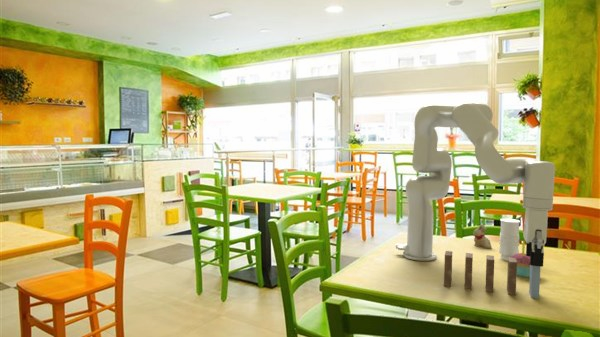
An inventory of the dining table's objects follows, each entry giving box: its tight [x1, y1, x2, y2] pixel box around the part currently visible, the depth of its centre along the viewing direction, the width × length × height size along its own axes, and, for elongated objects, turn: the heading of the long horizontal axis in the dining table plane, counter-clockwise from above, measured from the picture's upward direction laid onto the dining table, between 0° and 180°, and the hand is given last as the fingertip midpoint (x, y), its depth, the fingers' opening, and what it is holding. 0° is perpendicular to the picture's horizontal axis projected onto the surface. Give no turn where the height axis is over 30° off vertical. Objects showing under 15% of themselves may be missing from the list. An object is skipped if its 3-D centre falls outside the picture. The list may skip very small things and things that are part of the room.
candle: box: [498, 218, 521, 262], centre depth 158 cm, size 7×7×15 cm
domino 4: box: [506, 257, 518, 297], centre depth 123 cm, size 2×5×10 cm, turn 157°
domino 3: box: [485, 254, 495, 294], centre depth 125 cm, size 2×5×10 cm, turn 157°
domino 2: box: [464, 252, 474, 291], centre depth 128 cm, size 2×5×10 cm, turn 157°
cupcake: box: [511, 240, 530, 278], centre depth 139 cm, size 9×8×12 cm
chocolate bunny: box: [472, 223, 492, 250], centre depth 176 cm, size 6×8×10 cm
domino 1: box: [443, 250, 453, 288], centre depth 130 cm, size 2×5×10 cm, turn 157°
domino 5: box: [528, 265, 541, 300], centre depth 121 cm, size 2×5×10 cm, turn 156°
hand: (534, 261), depth 121 cm, fingers open, 9 cm apart
